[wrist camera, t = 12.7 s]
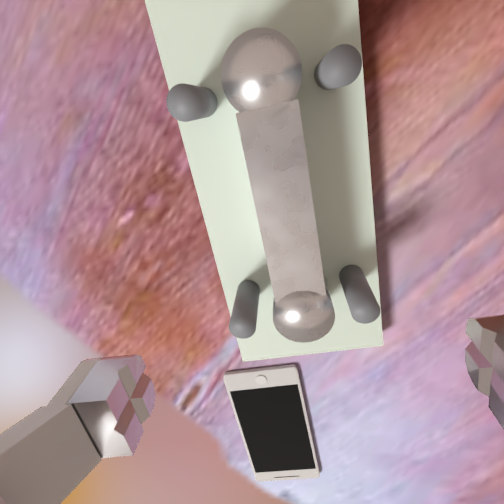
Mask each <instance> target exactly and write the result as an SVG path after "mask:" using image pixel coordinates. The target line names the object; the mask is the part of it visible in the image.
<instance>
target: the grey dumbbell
mask: <svg viewBox="0 0 504 504" xmlns="http://www.w3.org/2000/svg"><path fill="white" fill-rule="evenodd" d="M301 80H302V65H301V60H300V57H299V54H298V52H297V49H296V48H295V46H294V45H293V43H292V42H291V41H290V40H289V39H288V38H287V37H286V36H285V35H284V34H282V33H281V32H279V31H276V30H274V29H270V28H264V27H263V28H253V29H250V30H247V31H245V32H243V33H242V34H240V35H239V36H238V37H236V38H235V39H234V40H233V42H232V43H231V44H230V45H229V47H228V49H227V50H226V52H225V55H224V57H223V60H222V65H221V83H222V87H223V91H224V93H225V96H226V97H227V99H228V101H229V102H230V104H231V105H232V106H233V107H234V108H235V109H236V110H237V111H239V112H238V113H236V118H237V123H238V128H239V132H240V137H241V142H242V147H243V152H244V156H245V161H246V166H247V171H248V175H249V180H250V185H251V190H252V194H253V199H254V204H255V209H256V214H257V218H258V223H259V228H260V233H261V237H262V242H263V247H264V252H265V256H266V261H267V266H268V271H269V276H270V280H271V285H272V290H273V295H274V296H273V322H274V325H275V328H276V329H277V331H278V332H279V333H280V334H281V335H282V336H284V337H285V338H287V339H289V340H291V341H295V342H300V343H307V342H313V341H316V340H319V339H321V338H322V337H324V336H325V335H326V334H327V333H329V331H330V330H331V329H332V327H333V325H334V322H335V311H334V307H333V303H332V299H331V296H330V292H329V288H328V284H327V280H326V278H325V276H324V275H323V269H322V262H321V255H320V248H319V241H318V234H317V227H316V220H315V213H314V206H313V199H312V192H311V185H310V178H309V171H308V164H307V157H306V149H305V142H304V135H303V128H302V121H301V114H300V107H299V100H298V99H296V100H294V99H295V98H296V96H297V94H298V91H299V89H300V85H301Z"/></svg>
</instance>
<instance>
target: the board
mask: <svg viewBox="0 0 504 504" xmlns="http://www.w3.org/2000/svg"><path fill="white" fill-rule="evenodd" d="M145 3H146V7H147V10H148V14H149V18H150V21H151V25H152V29H153V32H154V36H155V40H156V43H157V47H158V51H159V55H160V58H161V62H162V66H163V69H164V73H165V77H166V80H167V84H168V88H169V92H168V95H167V107H168V110H169V112H170V114H171V115H172V116H173V117H174V118H175V119H177V121H178V124H179V128H180V132H181V135H182V139H183V143H184V146H185V150H186V154H187V158H188V161H189V165H190V169H191V172H192V176H193V180H194V183H195V187H196V191H197V194H198V198H199V202H200V205H201V209H202V213H203V216H204V220H205V224H206V227H207V231H208V235H209V238H210V242H211V246H212V249H213V253H214V257H215V260H216V264H217V268H218V272H219V275H220V279H221V283H222V286H223V290H224V294H225V297H226V301H227V305H228V308H229V312H230V316H231V319H230V323H229V330H230V332H231V333H232V334H233V335H234V336H235V337H236V338H237V341H238V345H239V349H240V352H241V356H242V360H243V362H244V361H252V360H261V359H270V358H279V357H288V356H297V355H305V354H314V353H323V352H332V351H341V350H350V349H359V348H367V347H376V346H383V332H382V319H381V305H380V292H379V278H378V265H377V251H376V238H375V224H374V211H373V197H372V184H371V170H370V157H369V143H368V130H367V116H366V103H365V89H364V76H363V62H362V49H361V35H360V22H359V8H358V0H145ZM263 27H264V28H270V29H274V30H276V31H279V32H281V33H282V34H284V35H285V36H286V37H287V38H288V39H289V40H290V41H291V42H292V43H293V45H294V46H295V48H296V49H297V52H298V54H299V57H300V60H301V65H302V80H301V85H300V89H299V91H298V94H297V96H296V98H295V99H294V100H296V99H298V100H299V107H300V114H301V121H302V128H303V135H304V142H305V149H306V157H307V164H308V171H309V178H310V185H311V192H312V199H313V206H314V213H315V220H316V227H317V234H318V241H319V248H320V255H321V262H322V269H323V275H324V276H325V278H326V280H327V284H328V288H329V292H330V296H331V299H332V303H333V307H334V311H335V322H334V325H333V327H332V329H331V330H330V331H329V333H327V334H326V335H325V336H324V337H322V338H321V339H319V340H316V341H313V342H307V343H300V342H295V341H291V340H289V339H287V338H285V337H284V336H282V335H281V334H280V333H279V332H278V331H277V329H276V328H275V325H274V322H273V296H274V295H273V290H272V285H271V280H270V276H269V271H268V266H267V261H266V256H265V252H264V247H263V242H262V237H261V233H260V228H259V223H258V218H257V214H256V209H255V204H254V199H253V194H252V190H251V185H250V180H249V175H248V171H247V166H246V161H245V156H244V152H243V147H242V142H241V137H240V132H239V128H238V123H237V118H236V113H238V112H239V111H237V110H236V109H235V108H234V107H233V106H232V105H231V104H230V102H229V101H228V99H227V97H226V96H225V93H224V91H223V87H222V83H221V65H222V60H223V57H224V55H225V52H226V50H227V49H228V47H229V45H230V44H231V43H232V42H233V40H234V39H235V38H236V37H238V36H239V35H240V34H242V33H243V32H245V31H247V30H250V29H253V28H263Z"/></svg>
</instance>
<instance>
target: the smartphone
mask: <svg viewBox="0 0 504 504" xmlns="http://www.w3.org/2000/svg"><path fill="white" fill-rule="evenodd" d="M224 383H225V386H226V389H227V392H228V395H229V398H230V401H231V404H232V408H233V411H234V414H235V417H236V420H237V423H238V426H239V429H240V433H241V436H242V439H243V442H244V445H245V448H246V451H247V454H248V457H249V461H250V464H251V467H252V470H253V473H254V476H255V479H256V480H257V481H275V480H291V479H306V478H318V477H319V475H320V474H319V467H318V462H317V457H316V453H315V448H314V443H313V439H312V434H311V429H310V425H309V420H308V415H307V411H306V406H305V401H304V397H303V392H302V387H301V382H300V378H299V373H298V369H297V367H296V365H295V364H290V365H281V366H273V367H264V368H256V369H248V370H239V371H231V372H225V374H224Z"/></svg>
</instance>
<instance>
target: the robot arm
mask: <svg viewBox="0 0 504 504" xmlns="http://www.w3.org/2000/svg"><path fill="white" fill-rule="evenodd" d="M466 334H467V335H468V336H469V338H470V339H471V340H472V342H471V343H470V344H469V345H468V346H467V347H466V349H465V361H466V365H467V370H468V373H469V375H470V378H471V380H472V382H473V383H474V385H475V387H476V388H477V390H478V391H480V392H482V393H483V394H485V395H487V396H488V397H489V408H490V410H491V411H492V413H493V414H494V416H495V417H496V419H497V420H498V422H499V423H500V425H501V426H502V428H503V429H504V315H495V316H486V317H477V318H469V320H468V322H467V327H466ZM145 367H146V366H145V363H144V361H143V359H142V357H141V356H139V355H124V356H113V357H103V358H92V359H86V360H84V361H82V362H81V363H80V364H79V365H78V367H77V368H76V369H75V370H74V372H73V373H72V374H71V375H70V377H69V378H68V379H67V381H66V382H65V383H64V384H63V386H62V387H61V388H60V390H59V391H58V392H57V394H56V395H55V396H54V397H53V398H52V400H51V401H50V402H49V404H48V405H47V406H46V407H40V408H39V409H37V410H36V411H34V412H33V413H31V414H30V415H28V416H27V417H25V418H24V419H22V420H21V421H19V422H18V423H16V424H15V425H13V426H12V427H10V428H9V429H7V430H6V431H4V432H3V433H2V434H0V504H61V503H62V501H63V500H64V499H65V498H66V497H67V496H68V495H69V494H70V493H71V492H72V491H73V490H74V489H75V488H76V487H77V486H78V485H79V483H80V482H81V481H82V480H83V479H84V478H85V477H86V476H87V475H88V474H89V473H90V472H91V471H92V470H93V468H95V466H96V465H97V464H98V463H99V462H100V461H101V458H107V457H108V458H109V457H119V456H131V455H134V452H135V450H136V448H137V445H138V443H139V441H140V438H141V436H142V434H143V428H142V425H141V424H142V423H143V422H144V421H145V420H146V419H147V418H148V417H149V416H150V415H151V412H152V410H153V407H154V401H155V390H154V385H153V383H152V380H151V379H150V378H149V377H148V376H146V375H145V374H144V373H143V372H144V369H145Z"/></svg>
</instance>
